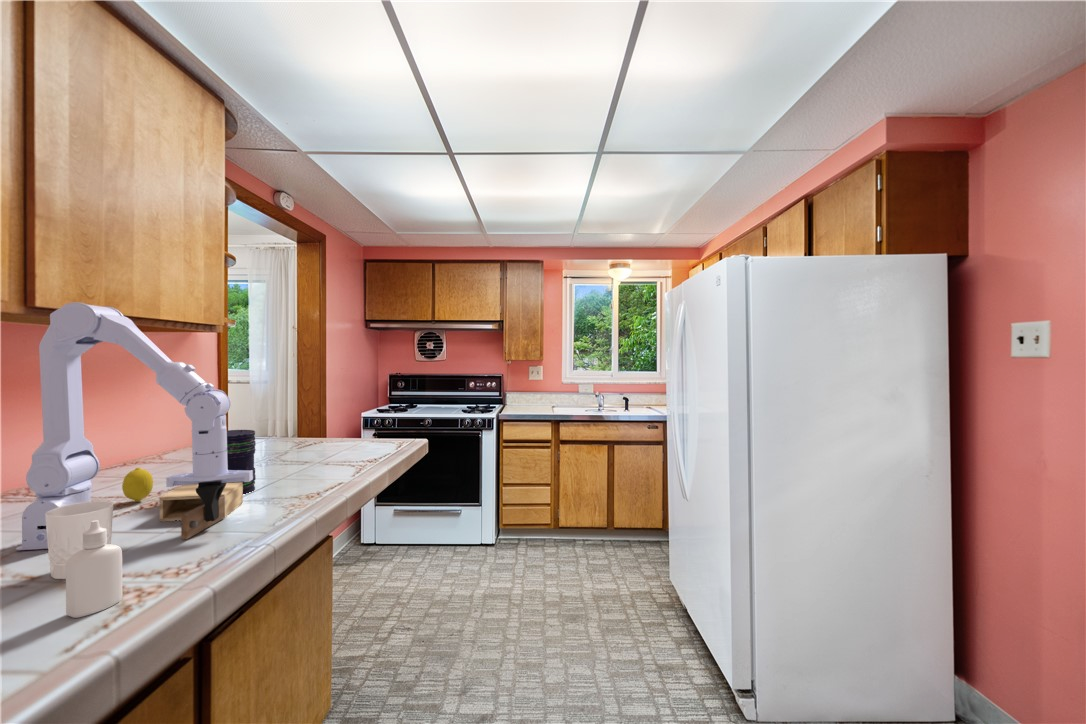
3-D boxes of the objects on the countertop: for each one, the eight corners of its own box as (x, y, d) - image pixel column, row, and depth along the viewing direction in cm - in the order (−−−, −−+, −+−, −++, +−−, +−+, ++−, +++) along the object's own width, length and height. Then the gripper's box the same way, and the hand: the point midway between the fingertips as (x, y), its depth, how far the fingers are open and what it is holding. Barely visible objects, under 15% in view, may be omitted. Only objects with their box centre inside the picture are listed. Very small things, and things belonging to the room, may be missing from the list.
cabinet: (224, 517, 103) (224, 494, 103) (159, 521, 100) (159, 497, 100) (242, 503, 113) (242, 482, 113) (183, 506, 110) (183, 484, 110)
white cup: (122, 557, 83) (122, 498, 83) (99, 577, 76) (99, 513, 75) (62, 563, 80) (62, 503, 80) (33, 585, 73) (33, 518, 73)
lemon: (159, 498, 116) (159, 465, 116) (137, 506, 110) (137, 471, 110) (138, 498, 116) (138, 464, 116) (115, 505, 111) (115, 470, 111)
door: (229, 517, 103) (229, 495, 103) (191, 539, 90) (191, 515, 90) (220, 517, 103) (220, 495, 103) (181, 539, 90) (181, 515, 90)
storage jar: (234, 498, 116) (234, 436, 116) (198, 496, 118) (198, 435, 118) (264, 487, 126) (264, 430, 126) (231, 485, 128) (231, 429, 128)
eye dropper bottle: (68, 608, 66) (68, 520, 66) (123, 595, 70) (123, 512, 70) (63, 622, 63) (63, 530, 63) (121, 608, 66) (121, 521, 66)
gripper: (257, 445, 102) (259, 510, 102) (178, 449, 99) (180, 516, 99) (244, 452, 95) (246, 521, 95) (159, 456, 92) (161, 528, 92)
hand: (211, 519), depth 97 cm, fingers closed, pressing on door
